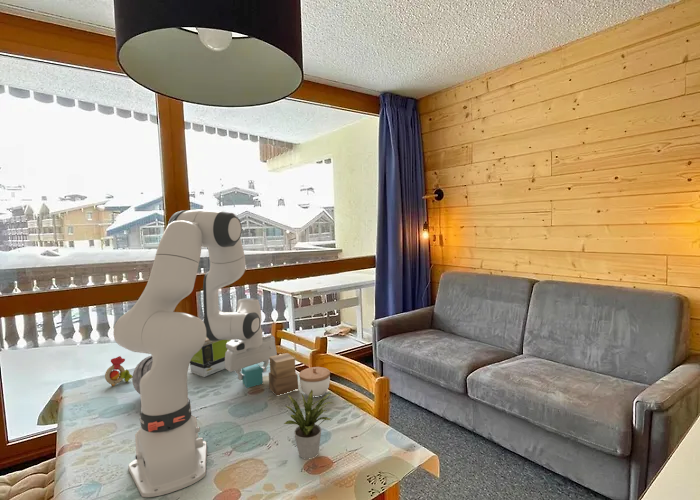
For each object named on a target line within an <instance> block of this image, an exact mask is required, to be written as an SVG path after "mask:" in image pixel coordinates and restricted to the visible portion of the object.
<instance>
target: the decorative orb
mask: <svg viewBox="0 0 700 500" xmlns="http://www.w3.org/2000/svg"><path fill="white" fill-rule="evenodd" d="M152 361H153V358H152V355H151V354H150V356H149V355H148V356H146V357H145V358H143V359H142V360H141V361H140V362H139V363H138V364H137V365H136V366H135V368H134V370H133V373H132V376H133V377H132V378H131V380H132V386H133V388H134V390H135V392H137V393H138V394H139V395H140V380H141V378H142V377H143V376H144V375H145V374H146V373H147V372H148V371H149V370H151V367H152Z"/></svg>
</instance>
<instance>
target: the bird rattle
mask: <svg viewBox="0 0 700 500" xmlns="http://www.w3.org/2000/svg"><path fill="white" fill-rule="evenodd" d="M125 361H126V358H123V357H122V356H121V355H120V356H119V355H118V356H117V357H113V358H111V359H110V363H111V364H112V365H111V366H109V367H108V368H107V370H106V371H105V372H104V379H105V381H106V382H107V383H108V384H110V385H111V386H112V387H115V386H116V385H117V384H119V383H120V382H122V381H124V382H125V383H126V382H128V383H129V381H130V379H131V380H132V377H133V374H131V373H130V371H129V369H125V367H123V366H122V364H123V363H124V362H125Z"/></svg>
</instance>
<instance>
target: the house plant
mask: <svg viewBox="0 0 700 500" xmlns="http://www.w3.org/2000/svg"><path fill="white" fill-rule="evenodd" d="M300 394H301V396H302V402H303V404H302V405H301V407H304V413H305V414H303V412H302V410H301V408H300V405H299V403H298V401H297V400H296V399H295V398H293V396H292V395H290V394H289V393H288V394H286V395H287V396H288V398H289V399H290V401H291V402H290V403H292V405H293V407H294V409H293V408H292V407H290V406H288V405H285V407H286V408H287V409H289V410H290V411H291V412H292V413H293V414H290V417H291V419H292V420H291V419H289V420H286V421H285V422H284V423H283V425H297V427H296V428H295V429H294V433H293V434H294V438H295V444H296V448H297V452H298V456H299V457H300V458H301V457H302V458H301V459H303V458H305V459H304V460H310V459H309V458H312V459H314V458H313V457H315V456H316V455H317V454H318V455H319V452H320V443H321V438H322V437H321V436H322V427H321V426H320V425H321V424H322V423H323V422H325V421H327V420H328V421H330V422H331V420H332V419H331V418H329V417H327V416H321V415H322V414H323V413H324V412H327V411H328V410H327V409H324V408H326V406H327V404H333V402H332V401H326V400H328V399H329V397H328V396H330V395H331V394H332V392H329V393H328V394H326V395H323V396H322V398H321V399H319V400H317V401H315V402H313V401H314V398H313V391H312V389H311V392H310V393H309V396H307V400H306V398H305V395H304V394H303V393H302V392H301V393H300ZM325 401H326V402H325ZM315 404H316V405H315ZM313 406H315V407H313ZM304 416H305V417H304ZM320 420H322V421H321V422H319V421H320ZM317 422H319V424H316V423H317ZM318 455H317V456H318ZM317 456H316V457H317ZM316 457H315V458H316Z"/></svg>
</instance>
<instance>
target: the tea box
mask: <svg viewBox="0 0 700 500" xmlns="http://www.w3.org/2000/svg"><path fill="white" fill-rule="evenodd" d="M229 341H231V340H218V341H211V340H209V339H208V338H207V337H206V340H205V343H204V345H203V346H202V348H201V349H200V350H199V351H198V352H197V353H196V354H195V355H194V356H193V357H192V359H191V361H190V364H189V367H190V372H191V373H192V374H195V375H197V376H200V377H204V378H205V377H208V376H210V375H212V374H215V373H217V372H219V371H222V370H225V369H226V368H225V353H226V351H227V350H228V349H227V348H226V343H227V342H229Z"/></svg>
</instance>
